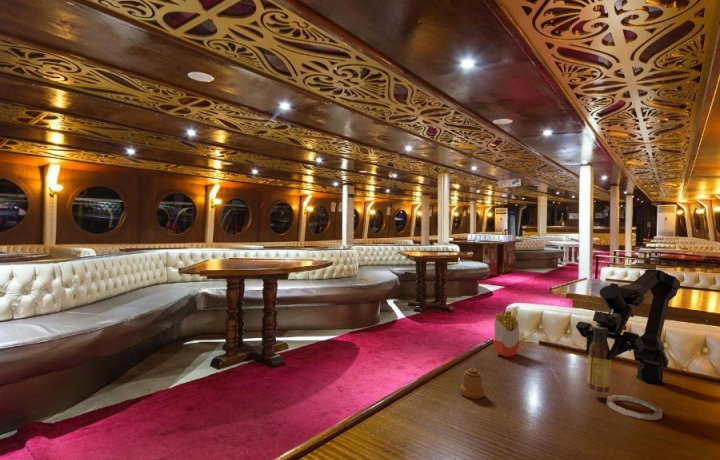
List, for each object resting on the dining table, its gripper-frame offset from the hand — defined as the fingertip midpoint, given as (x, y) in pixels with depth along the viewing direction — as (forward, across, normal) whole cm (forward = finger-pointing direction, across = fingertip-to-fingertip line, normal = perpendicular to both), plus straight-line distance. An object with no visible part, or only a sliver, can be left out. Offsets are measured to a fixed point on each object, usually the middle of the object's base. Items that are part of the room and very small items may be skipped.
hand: (597, 356), depth 122 cm
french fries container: (+3, -43, +16) cm, 46 cm away
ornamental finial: (+34, -19, -15) cm, 42 cm away
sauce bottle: (+7, 0, +9) cm, 11 cm away
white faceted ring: (+8, +9, +11) cm, 17 cm away
